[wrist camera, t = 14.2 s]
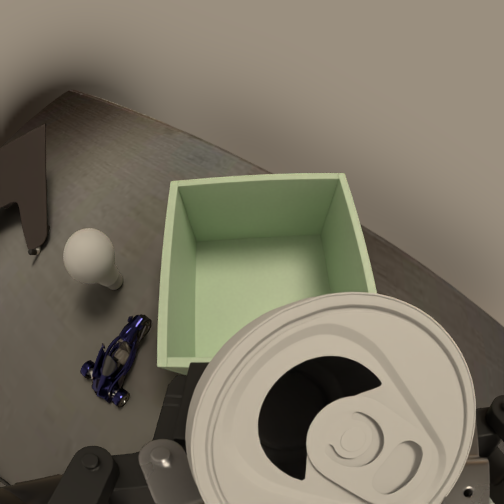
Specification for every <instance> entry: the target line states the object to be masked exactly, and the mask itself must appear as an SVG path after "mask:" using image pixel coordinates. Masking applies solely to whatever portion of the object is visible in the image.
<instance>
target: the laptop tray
mask: <svg viewBox="0 0 504 504" xmlns="http://www.w3.org/2000/svg"><path fill="white" fill-rule="evenodd" d="M14 202H17V203H18V205H19V209H20V216H21V222H22V227H23V232H24V236H25V240H26V243H27V247H28V249H29V251H28V253H29V255H38V254H39V253H40V246H41V245H42V244H43V243H44V242H45V240H46V238H47V235H48V231H49V229H50V227H49V226H47V187H46V124H44V125H42V126H40V127H38V128H36V129H34V130H32V131H30V132H28V133H26V134H25V135H23V136H21V137H19V138H17V139H16V140H14V141H12V142H10V143H9V144H7V145H5V146H4V147H2V148H0V208H2V207H4V208H9V207H10V206H11V205H12V204H13V203H14Z"/></svg>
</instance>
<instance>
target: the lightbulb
mask: <svg viewBox="0 0 504 504" xmlns="http://www.w3.org/2000/svg"><path fill="white" fill-rule="evenodd" d="M63 258H64V264H65V267H66V269H67V271H68V273H69V274H70V275H71V276H72V277H73V278H74V279H75V280H77V281H79V282H81V283H85V284H94V283H99V284H101V285H103V286H106V287H108V288H109V289H111V290H116V289H118V288H119V287H120V286H121V285H122V283H123V277H122V275H121V273H120V272H119V271H118V268H117V266H116V265H115V263H114V262H115V252H114V248H113V245H112V243H111V241H110V239H109V238H108V237H107V236H106V235H105V234H104V233H102V232H101V231H99V230H96V229H91V228H87V229H82V230H79V231H77V232H75V233H74V234H73V235H72V236H71V237H70V238H69V239H68V241H67V243H66V245H65V248H64V255H63Z"/></svg>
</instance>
